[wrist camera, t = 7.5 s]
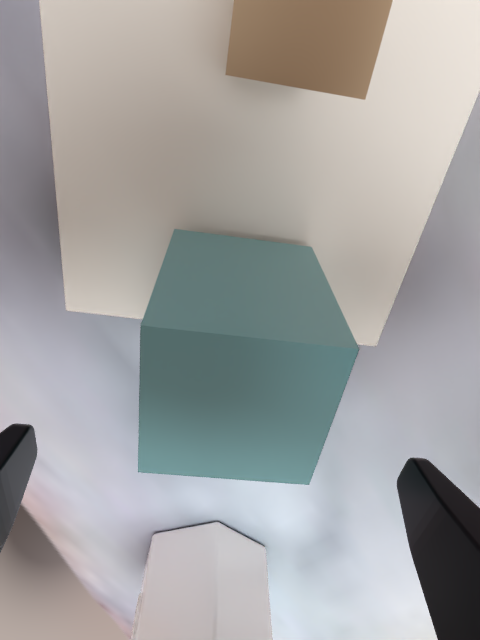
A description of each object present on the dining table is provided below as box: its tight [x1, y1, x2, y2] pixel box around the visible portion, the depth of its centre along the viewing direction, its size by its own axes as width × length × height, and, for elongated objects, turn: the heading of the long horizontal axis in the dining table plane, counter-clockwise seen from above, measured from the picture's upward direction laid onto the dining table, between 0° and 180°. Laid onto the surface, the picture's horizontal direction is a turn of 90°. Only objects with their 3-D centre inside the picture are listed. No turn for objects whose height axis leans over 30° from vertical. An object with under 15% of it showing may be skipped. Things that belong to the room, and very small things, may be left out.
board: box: [39, 0, 480, 346], centre depth 15 cm, size 14×13×1 cm
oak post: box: [225, 0, 393, 100], centre depth 9 cm, size 3×3×7 cm
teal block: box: [138, 229, 359, 485], centre depth 14 cm, size 5×5×7 cm
